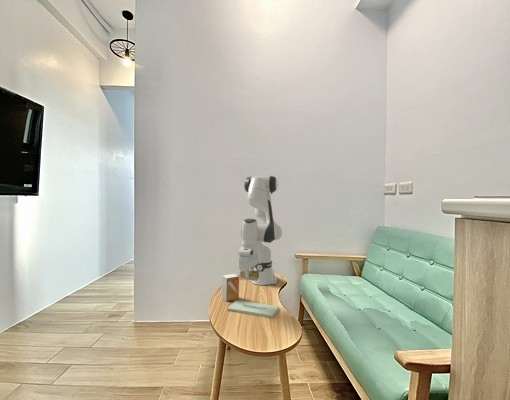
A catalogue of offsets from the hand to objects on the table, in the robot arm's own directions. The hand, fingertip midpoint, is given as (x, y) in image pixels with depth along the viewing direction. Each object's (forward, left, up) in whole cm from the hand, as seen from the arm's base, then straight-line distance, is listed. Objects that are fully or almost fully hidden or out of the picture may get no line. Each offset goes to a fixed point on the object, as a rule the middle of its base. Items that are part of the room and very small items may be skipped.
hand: (249, 275), depth 156 cm
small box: (-7, -14, -16) cm, 23 cm away
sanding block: (0, 0, -2) cm, 2 cm away
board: (+3, +4, -16) cm, 17 cm away
